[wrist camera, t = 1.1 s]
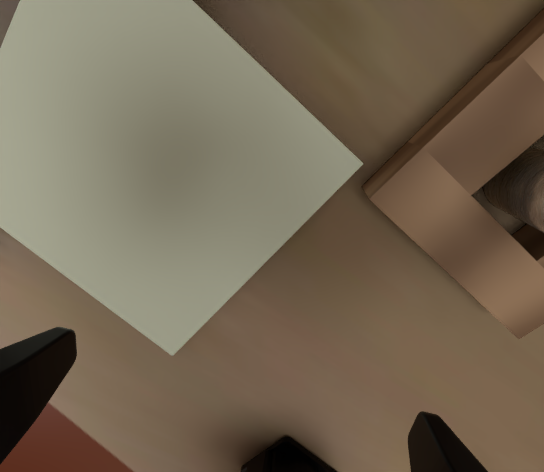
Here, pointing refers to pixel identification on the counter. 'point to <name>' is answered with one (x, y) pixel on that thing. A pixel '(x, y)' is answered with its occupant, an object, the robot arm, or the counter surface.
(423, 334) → the counter surface
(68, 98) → the sage mat
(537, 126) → the walnut block
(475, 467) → the robot arm
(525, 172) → the metal peg
